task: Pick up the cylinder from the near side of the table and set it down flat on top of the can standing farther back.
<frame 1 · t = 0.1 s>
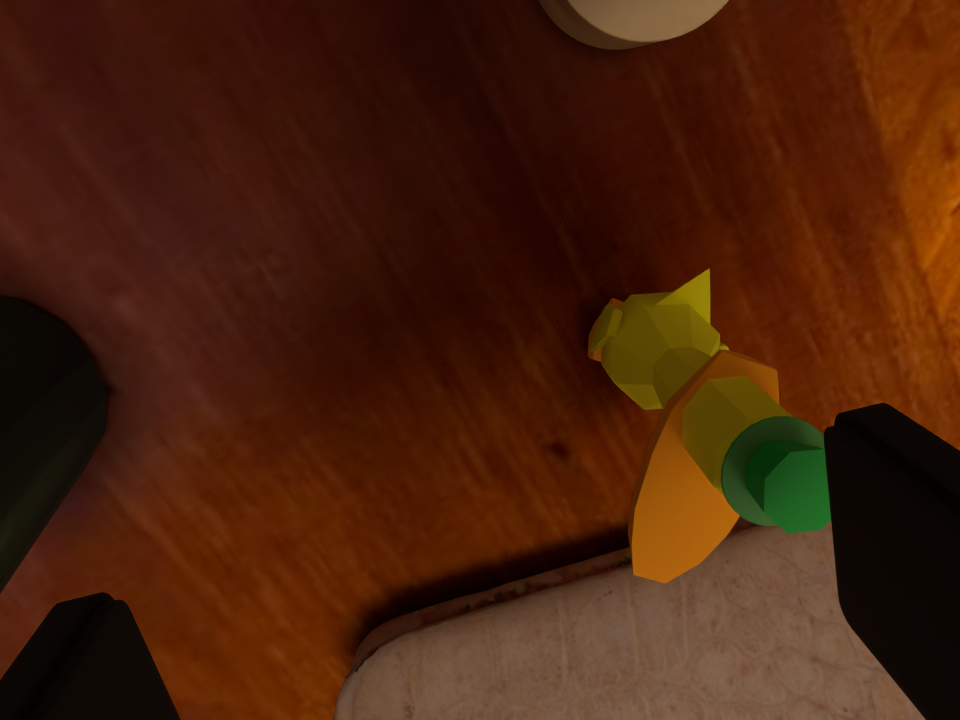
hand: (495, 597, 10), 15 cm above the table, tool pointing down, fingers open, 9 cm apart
potion bottle: (4, 391, 24), on the table
toy figure: (615, 336, 25), on the table
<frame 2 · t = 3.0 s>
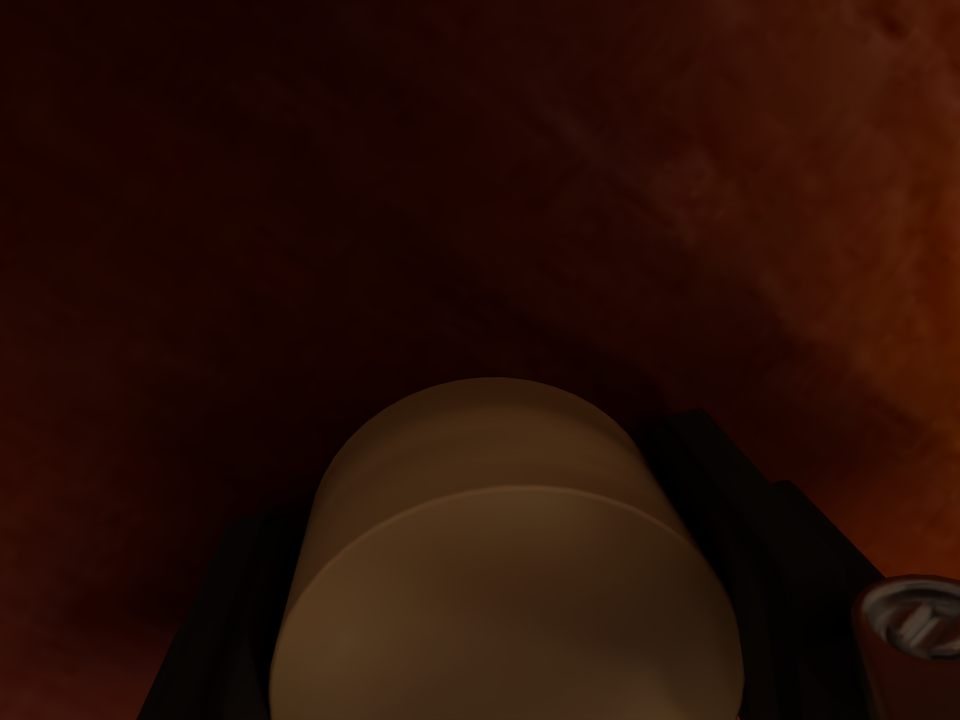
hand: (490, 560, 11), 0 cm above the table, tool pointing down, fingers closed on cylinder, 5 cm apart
cylinder: (487, 542, 11), on the table, touching gripper
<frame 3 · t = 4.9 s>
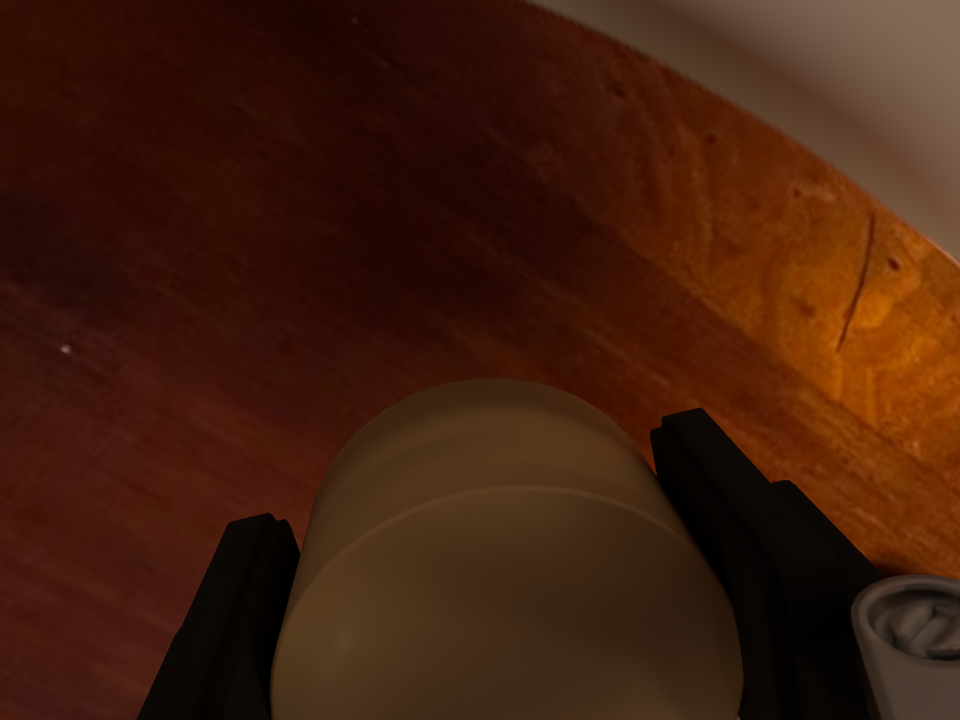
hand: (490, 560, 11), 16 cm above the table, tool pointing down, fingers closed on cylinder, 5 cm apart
cylinder: (488, 542, 11), point 15 cm above the table, touching gripper
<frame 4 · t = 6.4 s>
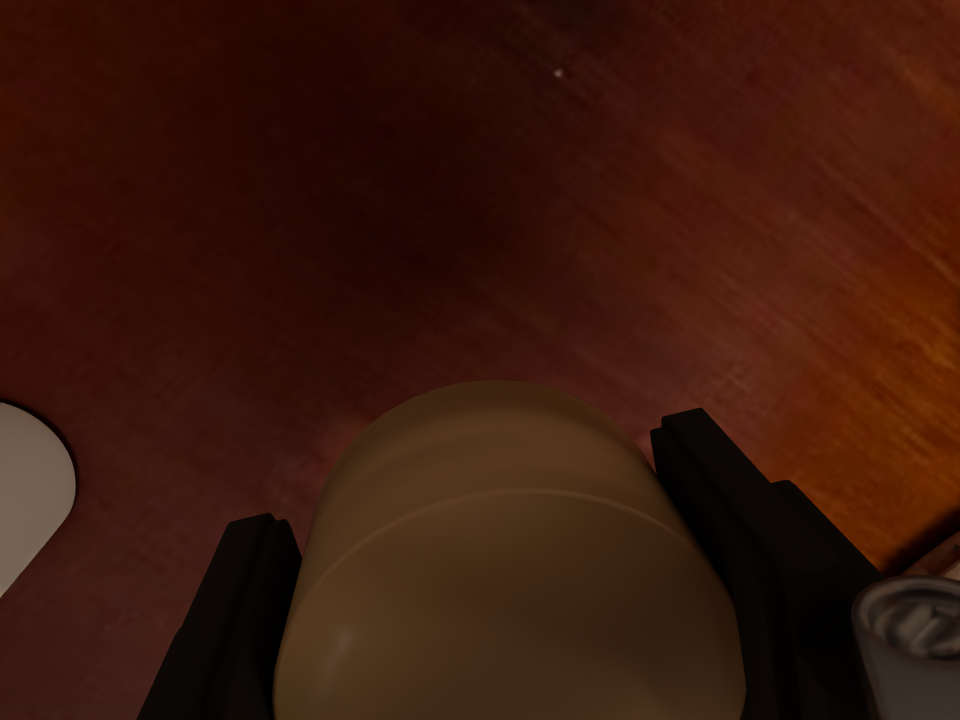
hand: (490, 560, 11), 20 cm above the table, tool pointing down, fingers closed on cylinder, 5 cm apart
cylinder: (490, 544, 11), point 19 cm above the table, touching gripper
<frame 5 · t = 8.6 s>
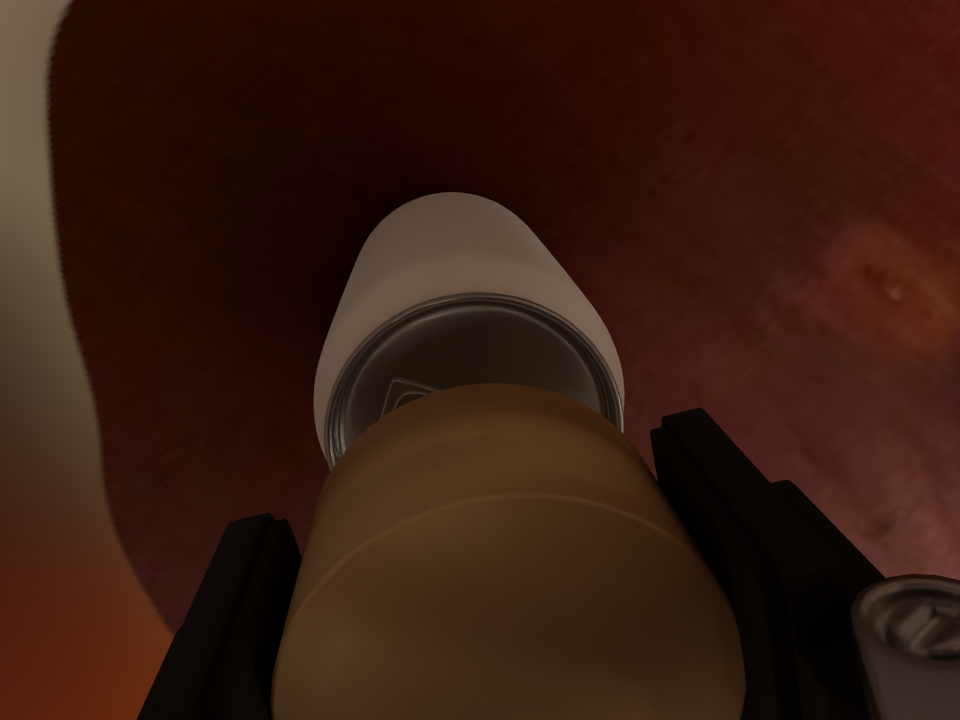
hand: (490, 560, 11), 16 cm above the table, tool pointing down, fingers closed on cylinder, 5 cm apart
can: (451, 287, 26), on the table
cylinder: (489, 547, 11), point 15 cm above the table, touching gripper
when the fingers open (12 cm above the table, at t = 9.9 s): cylinder stays where it is, resting on can.
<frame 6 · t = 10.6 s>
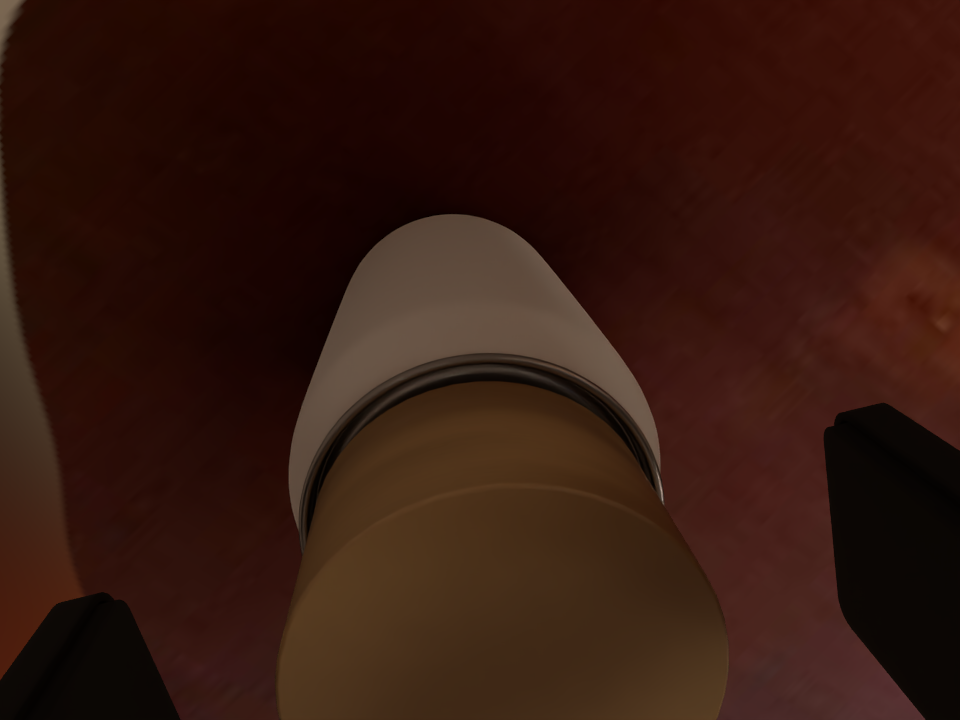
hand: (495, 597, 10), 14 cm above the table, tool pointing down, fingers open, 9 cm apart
can: (452, 318, 23), on the table, touching cylinder
cylinder: (484, 539, 12), point 12 cm above the table, touching can
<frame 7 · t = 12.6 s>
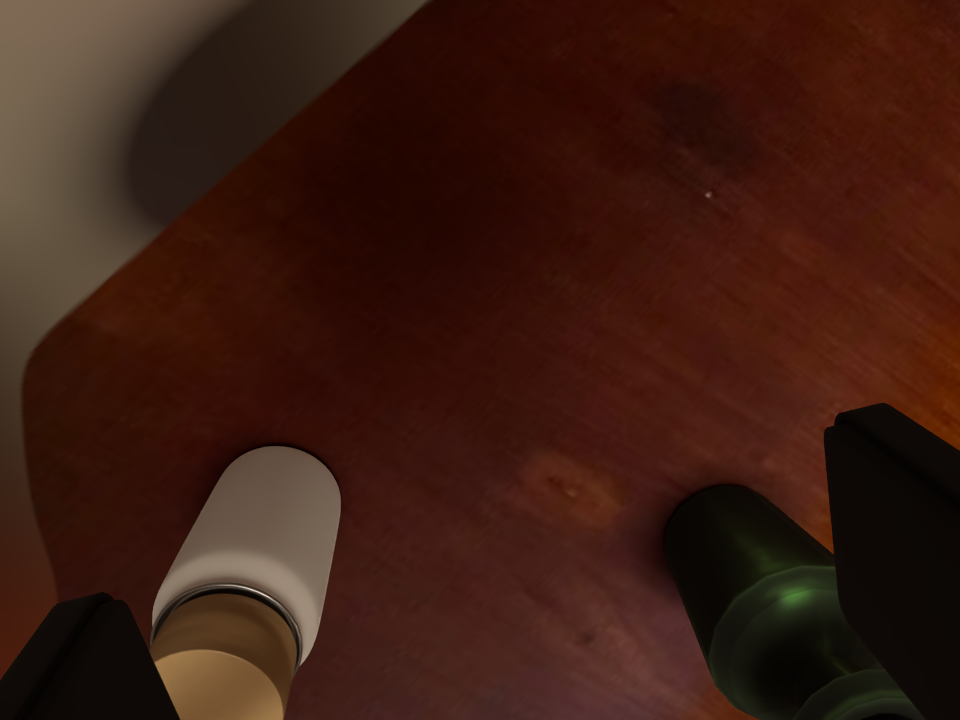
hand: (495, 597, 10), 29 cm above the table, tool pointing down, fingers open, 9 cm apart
potion bottle: (718, 533, 44), on the table
can: (280, 497, 41), on the table, touching cylinder
cylinder: (226, 652, 29), point 12 cm above the table, touching can
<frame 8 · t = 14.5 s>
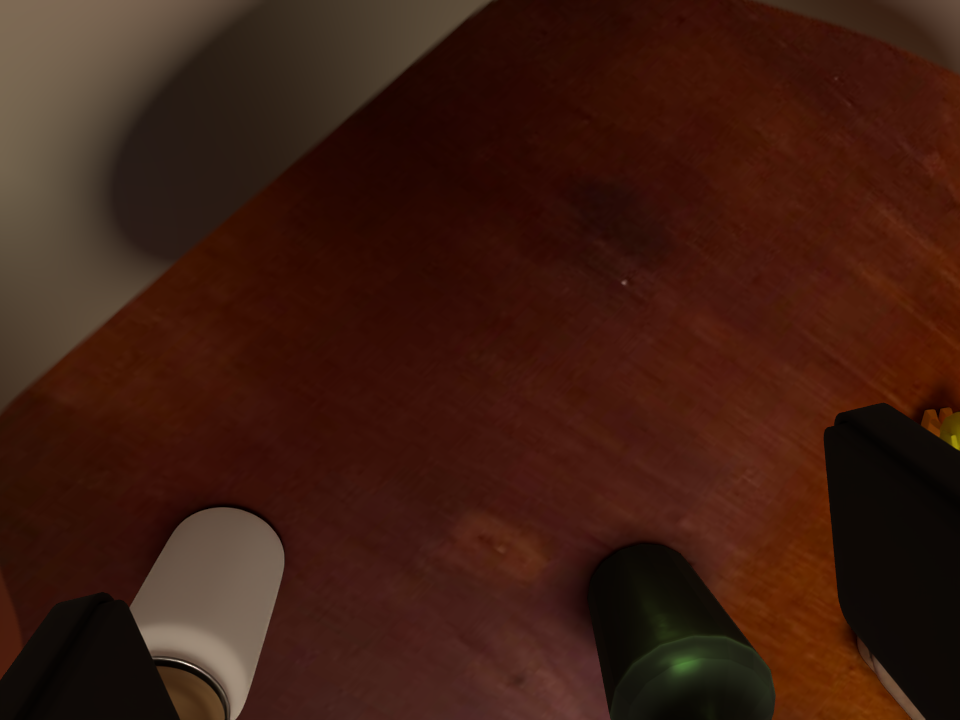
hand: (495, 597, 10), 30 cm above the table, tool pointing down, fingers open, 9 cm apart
potion bottle: (639, 586, 47), on the table
can: (228, 552, 44), on the table, touching cylinder
toy figure: (932, 426, 45), on the table
cylinder: (161, 716, 32), point 12 cm above the table, touching can
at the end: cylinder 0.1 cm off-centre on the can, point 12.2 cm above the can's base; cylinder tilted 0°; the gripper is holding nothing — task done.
